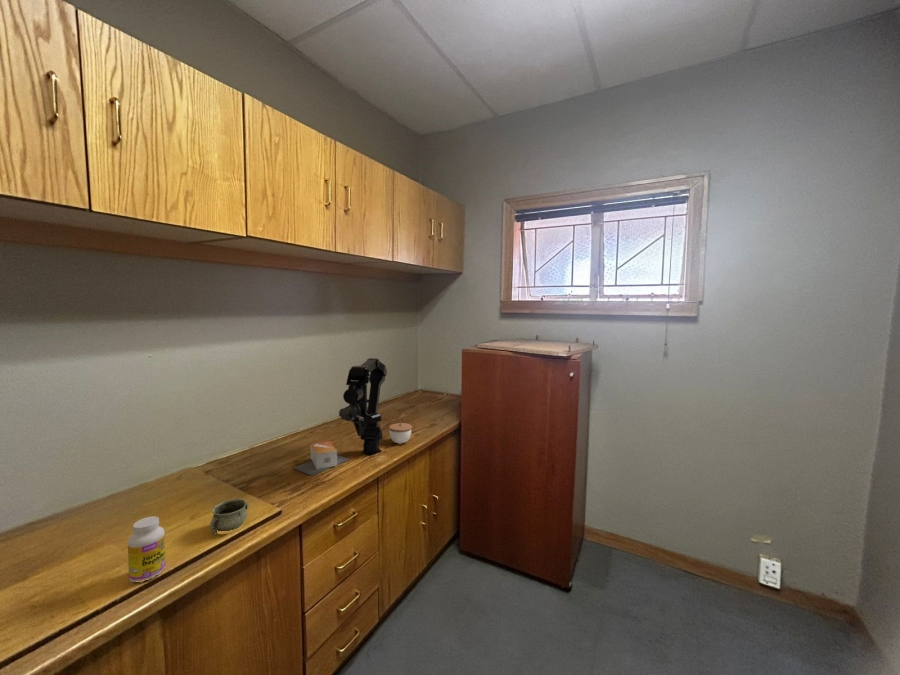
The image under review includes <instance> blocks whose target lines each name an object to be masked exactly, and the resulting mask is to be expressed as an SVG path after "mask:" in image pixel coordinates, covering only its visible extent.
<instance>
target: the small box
mask: <svg viewBox="0 0 900 675" xmlns="http://www.w3.org/2000/svg"><path fill="white" fill-rule="evenodd" d="M337 455H338V450H337V448H335V446H334V445H333V443H332V442H331V441H330V440H325V441H320V442H313V443H310V461H312V462H313V464H314V465H315V467H316V469H322V468H327V467H332V466H334V467H337V466H338V465H337ZM336 465H337V466H336ZM332 468H333V467H332Z"/></svg>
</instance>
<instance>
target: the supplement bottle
mask: <svg viewBox="0 0 900 675" xmlns="http://www.w3.org/2000/svg"><path fill="white" fill-rule="evenodd" d="M159 524H160V518H159V517H158V516H147V517H144V518H141V519H138V520H137V521H136V522H134V523H133V524H132V531H133V533H132V534H131V535H130V536H129V538H128V540H127V559H128V560H127V561H128V578H129V581H130V582H131V581H132V582H131V583H134V582H136V581H142V580H145V579H149V578H152V577H154V576H156V575H158V574H159V573H160V572H161V571H162V570H163V569H164V568H166V539H165V538H166V537H165V536H166V535H165V534H166V533H165V529H164V528H163V527H162V526H160V525H159ZM164 570H165V569H164ZM164 570H163V571H164ZM159 575H160V574H159ZM159 575H158V576H159Z"/></svg>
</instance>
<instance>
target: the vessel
mask: <svg viewBox="0 0 900 675" xmlns="http://www.w3.org/2000/svg"><path fill="white" fill-rule="evenodd" d="M248 507H249V504H248V502H247V501H246V500H245V499H243V498H234V499H228V500H227V499H226V500H225V501H222V502H219V503H218V504H216V505H215V506H213V508H212V509H211V510H212V511H211V512H212V514H213V516H212V519H211V521H210V523H209V530H210V531H212V533H211V534H212V535H216V534H215V533H217V530H218V531H230V530H234V529H237V528H239V527H240V526H241V525H242V524H243V523H244V522H245V520H246V519H247V517H248V514H247V510H248Z"/></svg>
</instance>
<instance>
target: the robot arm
mask: <svg viewBox="0 0 900 675" xmlns="http://www.w3.org/2000/svg"><path fill="white" fill-rule="evenodd" d="M387 374H388V370H387V367H386V365H385V364H384V363H382V362H381V361H380V358H374V357H372V358H371V357H370V358H367V359H366V360H365V362H363V363H362V364H360V365H353V366H351V367H350V369H349V370H348V375H347V379H346V383H345V385H346V386H348V387H347V389H346V390H345V391H344V393H343V395H342V397H343V401H344V402H345V403H346V404H348V405H347V406H345V407H343V408H340V410H339V411H338V416H339V417H340V418H341V420H343V421H346V422H351V423H353V426H354V429H355V431H356V434H357V436H358V437H359V438H360V440H361V441H363V445H362V446H363V450H361V453H362V454H366V455H369V456H374V455H375V454H378V453H380V452H382V449H380V441H381V440H382V439H383V430H382V428H381V421H382V415H381V414H380V413H378V412H379V403H380V395H381V394H380V393H381V386H382V384H384V382H385V380H386V377H387ZM369 383H370V386H369V387H370V388H369V394H368V384H369ZM368 395H369V396H368Z"/></svg>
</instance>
